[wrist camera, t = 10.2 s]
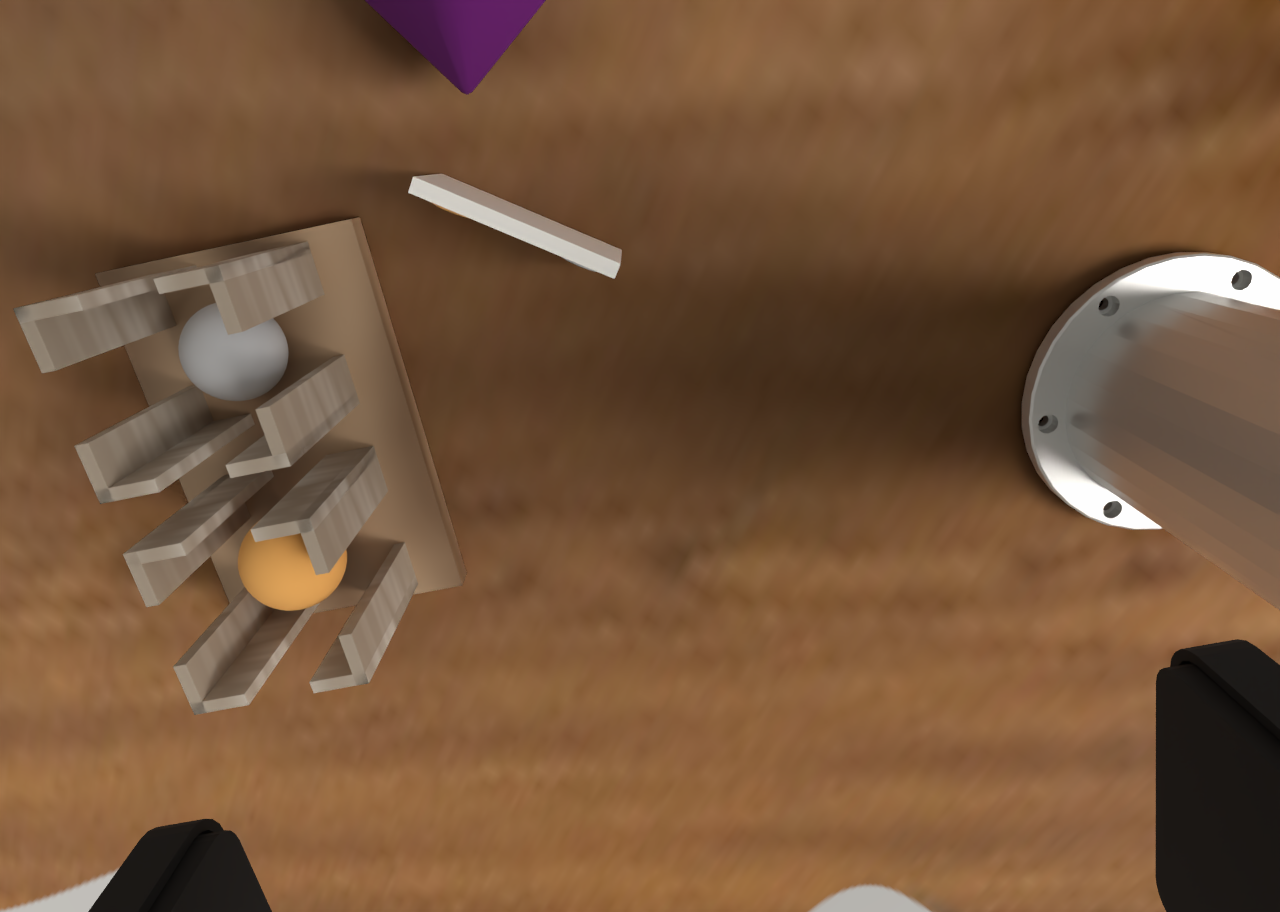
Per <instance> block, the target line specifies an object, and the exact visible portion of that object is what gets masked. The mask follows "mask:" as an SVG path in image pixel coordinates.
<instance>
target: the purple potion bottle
mask: <svg viewBox="0 0 1280 912" xmlns="http://www.w3.org/2000/svg"><path fill="white" fill-rule="evenodd" d="M365 1H366V2H367V3H368V4H369V5H370V6H371V7H372V8H373V9H374V10H375V11H377V12H378V13H379V14H380V15H381V16H382V17H383V18H384V19H385V20H386V21H387V22H388V23H389V24H390V25H391V26H392V27H393V28H394V29H396V30H397V31H398V32H399V33H400V34H401V35H402V36H403V37H404V38H405V39H406V40H407V41H408V42H409V43H410V44H411V45H412V46H413V47H414V48H416V49H417V50H418V51H419V52H420V53H421V54H422V55H423V56H424V57H425V58H426V59H427V60H428V61H429V62H430V63H431V64H432V65H433V66H435V67H436V68H437V69H438V70H439V71H440V72H441V73H442V74H443V75H444V76H445V77H446V78H447V79H448V80H449V81H450V82H451V83H452V84H454V85H455V86H456V87H457V88H458V89H459V90H460V91H461V92H462V93H465V94H469V93H471V92H473V90H474V89H475V88H476V87H477V85H478V84H479V83H480V82H481V80H482V79H483V78H484V77H485V75H486V74H487V73H488V72H489V70H490V69H491V68H492V67H493V65H494V64H495V63H496V62H497V60H498V59H499V58H500V57H501V55H502V54H503V53H504V52H505V50H506V49H507V48H508V47H509V45H510V44H511V43H512V42H513V40H514V39H515V38H516V37H517V35H518V34H519V33H520V32H521V30H522V29H523V28H524V27H525V25H526V24H527V23H528V22H529V20H530V19H531V18H532V17H533V15H534V14H535V13H536V12H537V10H538V9H539V8H540V7H541V5H542V4H543V3H544V2H545V0H365Z"/></svg>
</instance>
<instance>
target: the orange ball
mask: <svg viewBox="0 0 1280 912" xmlns="http://www.w3.org/2000/svg"><path fill="white" fill-rule="evenodd" d="M259 521H260V520H259ZM259 521H258V522H259ZM258 522H257V523H258ZM257 523H256V524H257ZM256 524H255V525H256ZM255 525H254V526H255ZM254 526H253V527H254ZM253 527H252V528H253ZM346 564H347V551H346V550H345V551H344V553H343V554H342V556H341V557H340V558H339V560H338V561H337V563H336V564H335V565H334V567H333V568H332V569H331V571H330V572H329V573H325V574H320V575H316V574H315V571H314V568H313V566H312V563H311V560H310V557H309V555H308V552H307V549H306V547H305V544H304V541H303V538H302V536H301V533H300V534H295V535H290V536H284V537H279V538H274V539H269V540H264V541H258V542H255V540H254V538H253V535H252V533H251V530H249V531H248V533H247V534H246V536H245V537H244V539H243V541H242V543H241V546H240V550H239V554H238V570H239V575H240V578H241V580H242V583H243V585H244V586H245V588H246V589H247V591H248V592H249V593H250V594H251V595H252V596H253V597H254V598H255V599H256V600H258V601H259V602H261V603H262V604H264V605H266V606H268V607H271V608H274V609H279V610H285V611H294V610H301V609H306V608H309V607H312V606H314V605H316V604H318V603H320V602H321V601H323V600H324V599H326V598H327V597H328V596H329V595H331V594H332V592H333V591H334V590H335V589H336V588H337V587H338V585H339V583H340V582H341V580H342V578H343V575H344V573H345V569H346Z"/></svg>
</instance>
